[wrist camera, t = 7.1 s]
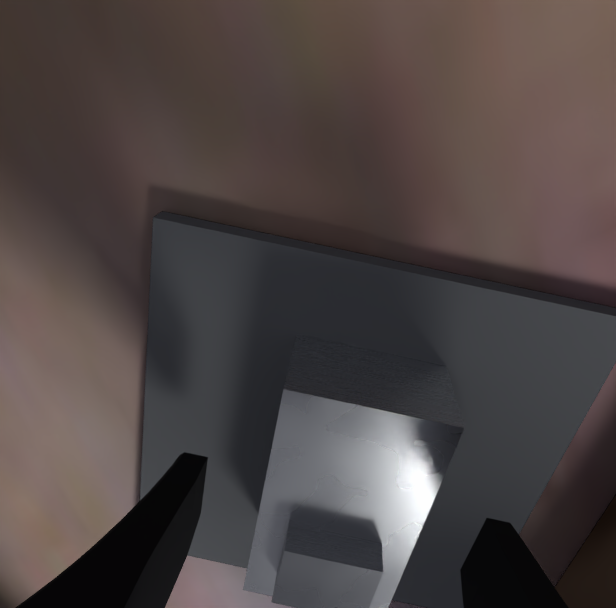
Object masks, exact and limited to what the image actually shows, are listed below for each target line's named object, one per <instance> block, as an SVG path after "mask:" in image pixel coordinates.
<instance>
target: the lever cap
mask: <svg viewBox="0 0 616 608" xmlns="http://www.w3.org/2000/svg"><path fill="white" fill-rule="evenodd" d="M463 431H464V424H463V421H462V418H461V414H460V411H459V407H458V404H457V401H456V397H455V394H454V390H453V387H452V384H451V380H450V377H449V374H448V370H447V367H446V365H442V364H437V363H433V362H428V361H423V360H419V359H414V358H409V357H404V356H400V355H395V354H390V353H386V352H381V351H376V350H372V349H367V348H362V347H358V346H353V345H348V344H344V343H339V342H334V341H329V340H325V339H320V338H315V337H311V336H306V335H301V334H297V336H296V340H295V344H294V348H293V352H292V357H291V361H290V365H289V369H288V373H287V377H286V381H285V385H284V389H283V394H282V399H281V404H280V409H279V414H278V419H277V424H276V429H275V434H274V439H273V444H272V449H271V454H270V459H269V464H268V469H267V474H266V479H265V484H264V488H263V493H262V498H261V503H260V508H259V513H258V518H257V523H256V528H255V533H254V538H253V543H252V548H251V553H250V558H249V563H248V568H247V573H246V578H245V583H244V588H243V590H246V591H251V592H256V593H260V594H265V595H269V596H273V597H272V602H273V603H278V604H282V605H287V606H291V607H296V608H388V607H389V605H390V602H391V600H392V598H393V595H394V593H395V591H396V588H397V586H398V584H399V581H400V579H401V577H402V574H403V572H404V569H405V567H406V565H407V562H408V560H409V558H410V555H411V553H412V551H413V548H414V546H415V544H416V541H417V539H418V537H419V534H420V532H421V529H422V527H423V525H424V522H425V520H426V518H427V515H428V513H429V511H430V508H431V506H432V504H433V501H434V499H435V496H436V494H437V492H438V489H439V487H440V485H441V482H442V480H443V478H444V475H445V473H446V471H447V468H448V466H449V464H450V461H451V459H452V456H453V454H454V452H455V449H456V447H457V445H458V442H459V440H460V438H461V435H462V433H463Z"/></svg>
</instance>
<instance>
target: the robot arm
mask: <svg viewBox="0 0 616 608" xmlns="http://www.w3.org/2000/svg"><path fill="white" fill-rule="evenodd" d="M207 461H208V457H205V456H200V455H196V454H191V453H186V452H184V453H182V454H180V455H179V457H178V458H177V459H176V460H175V462H174V463H173V464H172V466H171V467H170V468H169V469H168V470H167V472H166V473H165V474H164V475H163V476H162V477H161V479H160V480H159V481H158V482H157V483H156V484H155V485H154V486H153V488H152V489H151V490H150V491H149V492H148V493H147V494H146V495H145V496H144V497H143V498H142V499H141V500H140V501H139V502H138V503H137V504H136V506H135V507H134V508H133V509H132V510H131V511H130V512H129V513H128V514H127V515H126V516H125V517H124V518H123V519H122V520H121V521H120V522H119V523H118V524H116V525H115V526H114V527H113V528H112V529H111V530H110V531H109V532H108V533H107V534H106V535H105V536H104V537H103V538H101V539H100V540H99V541H98V542H97V543H96V544H95V545H94V546H93V547H92V548H91V549H89V550H88V551H87V552H86V553H85V554H84V555H82V556H81V557H80V558H79V559H78V560H77V561H75V562H74V563H73V564H72V565H71V566H69V567H68V568H67V569H66V570H64V571H63V572H62V573H61V574H60V575H58V576H57V577H56V578H55V579H53V580H52V581H51V582H49V583H48V584H47V585H45V586H44V587H43V588H41V589H40V590H39V591H37V592H36V593H35V594H33V595H32V596H31V597H29V598H28V599H27V600H26V601H24V602H23V603H21V604H20V605H19V606H17V607H16V608H165V606H166V603H167V601H168V599H169V597H170V594H171V592H172V590H173V587H174V585H175V583H176V580H177V578H178V576H179V573H180V571H181V569H182V566H183V564H184V562H185V559H186V557H187V555H188V552H189V549H190V546H191V543H192V540H193V537H194V533H195V530H196V527H197V524H198V521H199V518H200V514H201V508H202V500H203V493H204V485H205V477H206V469H207ZM460 572H461V585H462V597H463V606H464V608H569V607H568V606H567V605H566V603H565V602H564V600H563V599H562V597H561V596H560V595H559V593H558V592H557V590H556V589H555V587H554V586H553V585H552V583H551V582H550V580H549V579H548V577H547V576H546V574H545V573H544V571H543V570H542V568H541V567H540V566H539V564H538V563H537V561H536V560H535V558H534V557H533V555H532V554H531V552H530V551H529V549H528V548H527V546H526V545H525V543H524V542H523V540H522V539H521V537H520V536H519V534H518V533H517V531H516V530H515V529H514V527H513V526H512V524H511V523H509V522H504V521H500V520H495V519H491V518H486V520H485V522H484V524H483V526H482V528H481V530H480V532H479V534H478V536H477V538H476V540H475V542H474V544H473V546H472V548H471V550H470V552H469V554H468V556H467V557H466V559H465V561H464V563H463V565H462V567H461V569H460Z"/></svg>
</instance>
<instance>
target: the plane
mask: <svg viewBox="0 0 616 608" xmlns="http://www.w3.org/2000/svg"><path fill="white" fill-rule="evenodd" d="M555 589H556V590H557V592H558V593H559V595H560V596H561V597H562V599H563V600H564V602H565V603H566V605H567V606H568V607H569V608H616V496H615V497H614V499H613V500H612V502H611V503H610V505H609V506H608V508H607V509H606V511H605V512H604V514H603V515H602V517H601V518H600V520H599V522H598V523H597V525H596V526H595V528H594V529H593V531H592V532H591V534H590V535H589V537H588V538H587V540H586V541H585V543H584V544H583V546H582V547H581V549H580V550H579V552H578V553H577V555H576V556H575V558H574V559H573V561H572V563H571V564H570V566H569V567H568V569H567V570H566V572H565V573H564V575H563V576H562V578H561V579H560V581H559V582H558V584H557V585H556V587H555Z"/></svg>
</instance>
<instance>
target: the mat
mask: <svg viewBox="0 0 616 608" xmlns="http://www.w3.org/2000/svg"><path fill="white" fill-rule="evenodd" d="M297 334H301V335H306V336H311V337H315V338H320V339H325V340H329V341H334V342H339V343H344V344H348V345H353V346H358V347H362V348H367V349H372V350H376V351H381V352H386V353H390V354H395V355H400V356H404V357H409V358H414V359H419V360H423V361H428V362H433V363H437V364H442V365H446V367H447V370H448V374H449V377H450V380H451V384H452V387H453V390H454V394H455V397H456V401H457V404H458V407H459V411H460V414H461V418H462V421H463V424H464V431H463V433H462V435H461V438H460V440H459V442H458V445H457V447H456V449H455V452H454V454H453V456H452V459H451V461H450V464H449V466H448V468H447V471H446V473H445V475H444V478H443V480H442V482H441V485H440V487H439V489H438V492H437V494H436V496H435V499H434V501H433V504H432V506H431V508H430V511H429V513H428V515H427V518H426V520H425V522H424V525H423V527H422V529H421V532H420V534H419V537H418V539H417V541H416V544H415V546H414V548H413V551H412V553H411V555H410V558H409V560H408V562H407V565H406V567H405V569H404V572H403V574H402V577H401V579H400V581H399V584H398V586H397V588H396V591H395V593H394V595H393V598H392V600H394V601H399V602H403V603H408V604H413V605H417V606H422V607H426V608H464V606H463V597H462V585H461V572H460V569H461V567H462V565H463V563H464V561H465V559H466V557H467V556H468V554H469V552H470V550H471V548H472V546H473V544H474V542H475V540H476V538H477V536H478V534H479V532H480V530H481V528H482V526H483V524H484V522H485V520H486V518H491V519H495V520H500V521H504V522H509V523H511V524H512V526H513V527H514V529H515V530H516V531H517V533H518V534H519V533H520V532H521V530H522V528H523V526H524V524H525V523H526V521H527V519H528V517H529V516H530V514H531V512H532V510H533V508H534V507H535V505H536V503H537V501H538V500H539V498H540V496H541V494H542V492H543V491H544V489H545V487H546V485H547V484H548V482H549V480H550V478H551V476H552V475H553V473H554V471H555V469H556V468H557V466H558V464H559V462H560V460H561V459H562V457H563V455H564V453H565V452H566V450H567V448H568V446H569V444H570V443H571V441H572V439H573V437H574V435H575V434H576V432H577V430H578V428H579V427H580V425H581V423H582V421H583V419H584V418H585V416H586V414H587V412H588V411H589V409H590V407H591V405H592V403H593V402H594V400H595V398H596V396H597V395H598V393H599V391H600V389H601V387H602V386H603V384H604V382H605V380H606V379H607V377H608V375H609V373H610V371H611V370H612V368H613V366H614V364H615V363H616V308H613V307H609V306H604V305H599V304H595V303H590V302H585V301H580V300H576V299H571V298H566V297H562V296H557V295H552V294H548V293H543V292H538V291H534V290H529V289H524V288H520V287H515V286H510V285H505V284H501V283H496V282H491V281H487V280H482V279H477V278H473V277H468V276H463V275H459V274H454V273H449V272H445V271H440V270H435V269H431V268H426V267H421V266H416V265H412V264H407V263H402V262H398V261H393V260H388V259H384V258H379V257H374V256H370V255H365V254H360V253H356V252H351V251H346V250H341V249H337V248H332V247H327V246H323V245H318V244H313V243H309V242H304V241H299V240H295V239H290V238H285V237H281V236H276V235H271V234H266V233H262V232H257V231H252V230H248V229H243V228H238V227H234V226H229V225H224V224H220V223H215V222H210V221H206V220H201V219H196V218H191V217H187V216H182V215H177V214H173V213H168V212H163V211H162V212H160V213H159V214H157V215H156V216H155V217H153V229H152V251H151V272H150V294H149V315H148V337H147V358H146V380H145V401H144V423H143V444H142V466H141V487H140V500H141V499H142V498H143V497H144V496H145V495H146V494H147V493H148V492H149V491H150V490H151V489H152V488H153V486H154V485H155V484H156V483H157V482H158V481H159V480H160V479H161V477H162V476H163V475H164V474H165V473H166V472H167V470H168V469H169V468H170V467H171V466H172V464H173V463H174V462H175V460H176V459H177V458H178V457H179V455H180V454H182V453H184V452H186V453H191V454H196V455H200V456H205V457H208V461H207V469H206V477H205V485H204V493H203V500H202V508H201V514H200V518H199V521H198V524H197V527H196V530H195V533H194V537H193V540H192V543H191V546H190V549H189V552H188V556H193V557H197V558H202V559H207V560H211V561H216V562H220V563H225V564H229V565H234V566H239V567H243V568H248V563H249V558H250V553H251V548H252V543H253V538H254V533H255V528H256V523H257V518H258V513H259V508H260V503H261V498H262V493H263V488H264V484H265V479H266V474H267V469H268V464H269V459H270V454H271V449H272V444H273V439H274V434H275V429H276V424H277V419H278V414H279V409H280V404H281V399H282V394H283V389H284V385H285V381H286V377H287V373H288V369H289V365H290V361H291V357H292V352H293V348H294V344H295V340H296V336H297Z"/></svg>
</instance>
